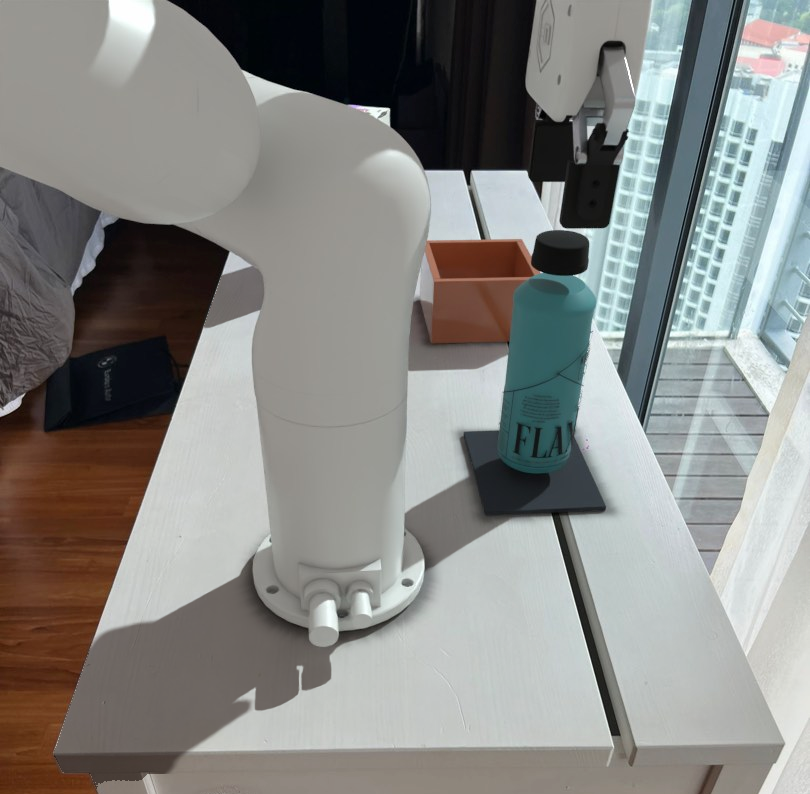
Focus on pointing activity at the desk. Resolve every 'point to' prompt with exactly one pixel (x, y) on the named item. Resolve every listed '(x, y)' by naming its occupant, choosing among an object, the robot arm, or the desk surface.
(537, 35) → the robot arm
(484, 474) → the mat
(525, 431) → the beverage bottle
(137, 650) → the desk surface
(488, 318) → the holder
